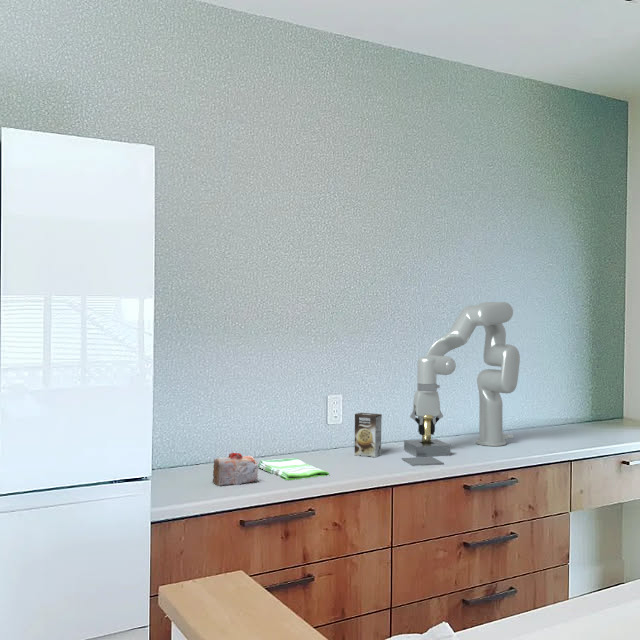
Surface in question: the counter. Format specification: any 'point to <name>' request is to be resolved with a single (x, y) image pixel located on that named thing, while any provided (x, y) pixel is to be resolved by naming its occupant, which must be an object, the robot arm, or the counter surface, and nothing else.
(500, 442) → the robot arm
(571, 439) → the counter surface
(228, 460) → the food item
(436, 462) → the mat
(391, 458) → the counter surface
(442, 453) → the block
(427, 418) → the brass flanged peg
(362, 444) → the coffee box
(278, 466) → the dish towel
